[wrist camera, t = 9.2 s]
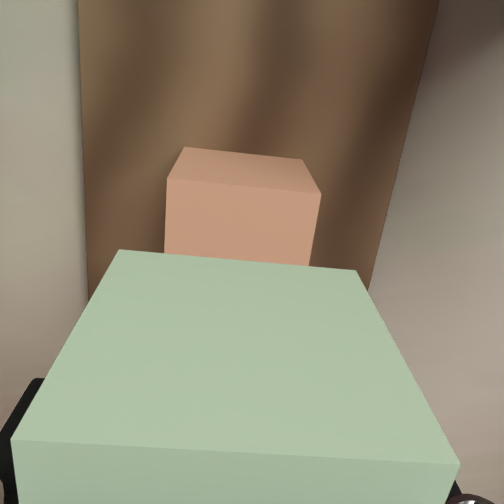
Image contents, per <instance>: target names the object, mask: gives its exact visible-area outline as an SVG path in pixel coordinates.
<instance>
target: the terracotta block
mask: <svg viewBox="0 0 504 504" xmlns="http://www.w3.org/2000/svg"><path fill="white" fill-rule="evenodd" d="M320 200H321V192H320V190H319V189H318V187H317V185H316V183H315V181H314V180H313V178H312V176H311V174H310V172H309V171H308V169H307V167H306V165H305V164H304V162H303V160H302V159H292V158H283V157H274V156H265V155H255V154H246V153H237V152H228V151H218V150H209V149H200V148H191V147H184V148H183V150H182V152H181V154H180V156H179V157H178V159H177V161H176V163H175V165H174V166H173V168H172V170H171V172H170V174H169V176H168V177H167V192H166V218H165V244H164V253H166V254H177V255H189V256H200V257H211V258H222V259H234V260H245V261H256V262H267V263H279V264H290V265H301V266H309V260H310V255H311V249H312V244H313V238H314V233H315V227H316V222H317V216H318V211H319V205H320Z"/></svg>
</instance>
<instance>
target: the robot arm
mask: <svg viewBox="0 0 504 504" xmlns="http://www.w3.org/2000/svg"><path fill="white" fill-rule="evenodd" d="M44 380H45V379H44V378H35V379H33V380H32V381H31V383H30V384H29V386H28V387H27V389H26V391H25V392H24V394H23V395H22V397H21V399H20V400H19V402H18V404H17V405H16V407H15V409H14V410H13V412H12V414H11V415H10V417H9V419H8V420H7V422H6V423H5V425H4V427H3V428H2V430H1V432H0V504H19V500H18V493H17V485H16V478H15V470H14V463H13V455H12V448H11V440H10V439H11V437H12V436H13V434H14V432H15V430H16V429H17V427H18V425H19V423H20V422H21V420H22V418H23V416H24V415H25V413H26V411H27V409H28V408H29V406H30V404H31V402H32V401H33V399H34V397H35V395H36V394H37V392H38V390H39V388H40V387H41V385H42V383H43V381H44ZM445 504H494V503H492V502H491V501H489V500H486V499H484V498H482V497H480V496H476V495H472V494H462V493H461V491H460V489H459V487H458V485H457V483H456V481H455V480H454V482H453V485H452V487H451V490H450V492H449V495H448V497H447V499H446V502H445Z"/></svg>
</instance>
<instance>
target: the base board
mask: <svg viewBox="0 0 504 504" xmlns="http://www.w3.org/2000/svg"><path fill="white" fill-rule="evenodd" d="M438 3H439V0H78V21H79V49H80V76H81V104H82V132H83V159H84V187H85V214H86V242H87V269H88V297H89V301H90V299H91V297H92V296H93V294H94V292H95V290H96V289H97V287H98V285H99V283H100V282H101V280H102V278H103V276H104V275H105V273H106V271H107V269H108V268H109V266H110V264H111V262H112V261H113V259H114V257H115V255H116V254H117V252H118V250H119V249H121V250H133V251H144V252H155V253H164V244H165V218H166V192H167V177H168V176H169V174H170V172H171V170H172V168H173V166H174V165H175V163H176V161H177V159H178V157H179V156H180V154H181V152H182V150H183V148H184V147H191V148H200V149H209V150H218V151H228V152H237V153H246V154H255V155H265V156H274V157H283V158H292V159H302V160H303V162H304V164H305V165H306V167H307V169H308V171H309V172H310V174H311V176H312V178H313V180H314V181H315V183H316V185H317V187H318V189H319V190H320V192H321V200H320V205H319V211H318V216H317V222H316V227H315V233H314V238H313V244H312V249H311V255H310V260H309V266H312V267H324V268H335V269H346V270H356V272H357V273H358V275H359V277H360V279H361V281H362V283H363V284H364V286H365V288H366V290H367V292H368V288H369V284H370V280H371V276H372V272H373V267H374V263H375V259H376V255H377V251H378V247H379V243H380V239H381V235H382V231H383V227H384V223H385V219H386V215H387V210H388V206H389V202H390V198H391V194H392V190H393V186H394V182H395V178H396V174H397V170H398V166H399V162H400V158H401V153H402V149H403V145H404V141H405V137H406V133H407V129H408V125H409V121H410V117H411V113H412V109H413V105H414V101H415V97H416V92H417V88H418V84H419V80H420V76H421V72H422V68H423V64H424V60H425V56H426V52H427V48H428V44H429V40H430V35H431V31H432V27H433V23H434V19H435V15H436V11H437V7H438Z"/></svg>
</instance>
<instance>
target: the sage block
mask: <svg viewBox="0 0 504 504" xmlns="http://www.w3.org/2000/svg"><path fill="white" fill-rule="evenodd" d="M10 440H11V448H12V455H13V463H14V470H15V478H16V485H17V493H18V500H19V504H445V502H446V499H447V497H448V495H449V492H450V490H451V487H452V485H453V482H454V480H455V478H456V475H457V473H458V470H459V468H460V466H461V464H460V462H459V460H458V458H457V457H456V455H455V453H454V451H453V449H452V447H451V445H450V444H449V442H448V440H447V438H446V436H445V434H444V433H443V431H442V429H441V427H440V425H439V423H438V421H437V420H436V418H435V416H434V414H433V412H432V410H431V408H430V407H429V405H428V403H427V401H426V399H425V397H424V396H423V394H422V392H421V390H420V388H419V386H418V384H417V383H416V381H415V379H414V377H413V375H412V373H411V371H410V370H409V368H408V366H407V364H406V362H405V360H404V359H403V357H402V355H401V353H400V351H399V349H398V347H397V346H396V344H395V342H394V340H393V338H392V336H391V334H390V333H389V331H388V329H387V327H386V325H385V323H384V322H383V320H382V318H381V316H380V314H379V312H378V310H377V309H376V307H375V305H374V303H373V301H372V299H371V297H370V296H369V294H368V292H367V290H366V288H365V286H364V284H363V283H362V281H361V279H360V277H359V275H358V273H357V272H356V270H346V269H335V268H324V267H312V266H301V265H290V264H279V263H267V262H256V261H245V260H234V259H222V258H211V257H200V256H189V255H177V254H166V253H155V252H144V251H133V250H121V249H119V250H118V252H117V254H116V255H115V257H114V259H113V261H112V262H111V264H110V266H109V268H108V269H107V271H106V273H105V275H104V276H103V278H102V280H101V282H100V283H99V285H98V287H97V289H96V290H95V292H94V294H93V296H92V297H91V299H90V301H89V303H88V304H87V306H86V308H85V310H84V311H83V313H82V315H81V317H80V318H79V320H78V322H77V324H76V325H75V327H74V329H73V331H72V332H71V334H70V336H69V338H68V339H67V341H66V343H65V345H64V346H63V348H62V350H61V352H60V353H59V355H58V357H57V359H56V360H55V362H54V364H53V366H52V367H51V369H50V371H49V373H48V374H47V376H46V378H45V380H44V381H43V383H42V385H41V387H40V388H39V390H38V392H37V394H36V395H35V397H34V399H33V401H32V402H31V404H30V406H29V408H28V409H27V411H26V413H25V415H24V416H23V418H22V420H21V422H20V423H19V425H18V427H17V429H16V430H15V432H14V434H13V436H12V437H11V439H10Z"/></svg>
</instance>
